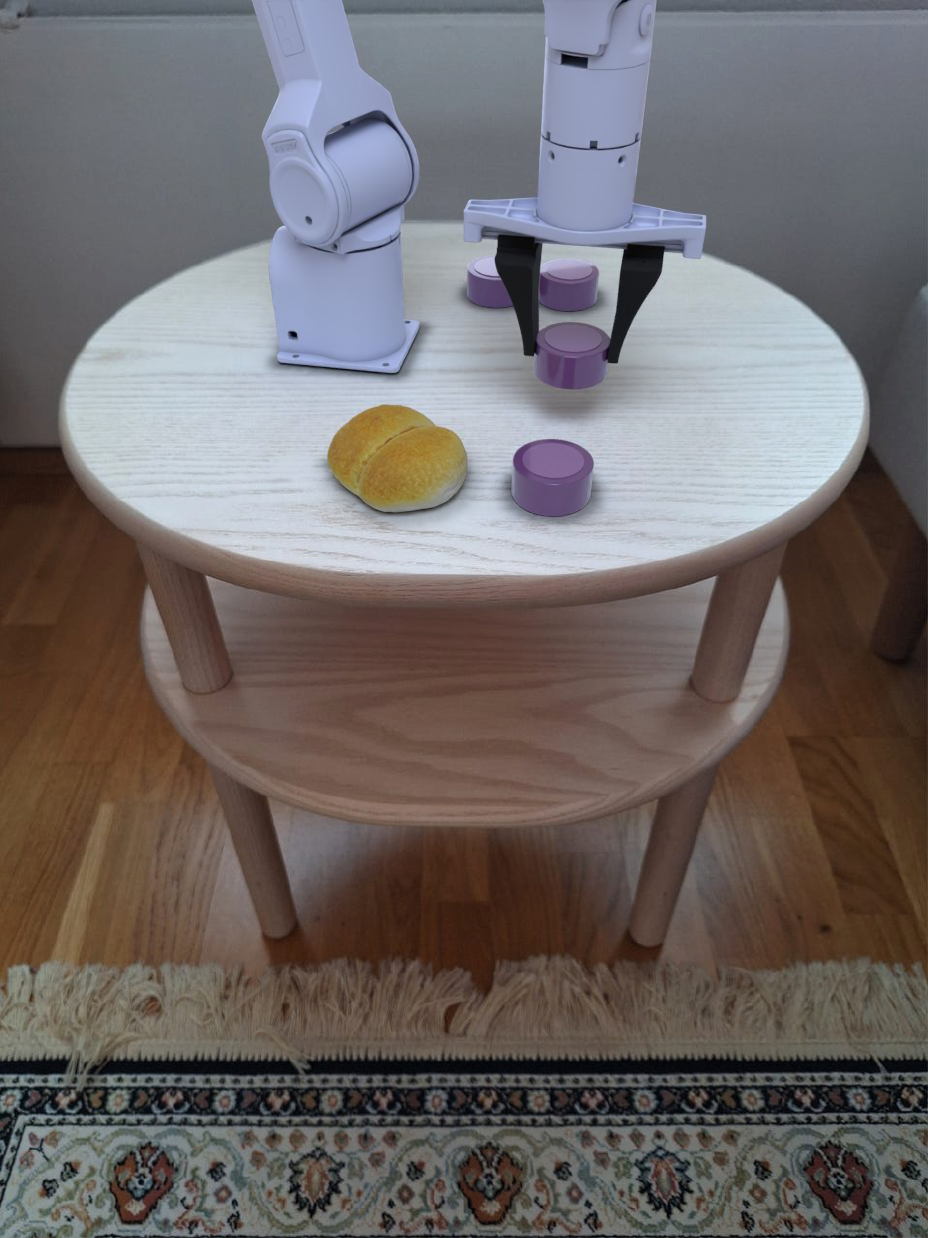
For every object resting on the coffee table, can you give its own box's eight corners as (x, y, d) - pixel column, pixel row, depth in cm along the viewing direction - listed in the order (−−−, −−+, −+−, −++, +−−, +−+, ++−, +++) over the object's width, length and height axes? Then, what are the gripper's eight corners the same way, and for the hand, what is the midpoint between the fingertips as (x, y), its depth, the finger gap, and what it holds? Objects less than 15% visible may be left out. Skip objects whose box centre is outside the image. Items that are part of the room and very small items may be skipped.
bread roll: (399, 535, 57) (395, 480, 54) (310, 472, 62) (303, 419, 59) (497, 480, 61) (498, 426, 58) (407, 425, 66) (404, 373, 63)
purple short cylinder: (461, 305, 79) (461, 276, 78) (472, 280, 83) (472, 252, 81) (521, 310, 79) (522, 281, 77) (529, 284, 82) (530, 256, 80)
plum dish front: (505, 511, 59) (506, 478, 57) (517, 466, 62) (518, 433, 60) (586, 520, 58) (590, 487, 56) (593, 474, 61) (597, 441, 60)
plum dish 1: (533, 308, 79) (535, 279, 77) (541, 283, 82) (543, 254, 81) (594, 313, 78) (596, 284, 76) (599, 287, 82) (601, 259, 80)
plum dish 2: (528, 386, 63) (530, 352, 61) (538, 350, 67) (540, 317, 65) (604, 393, 62) (608, 359, 61) (609, 357, 66) (613, 323, 64)
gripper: (719, 119, 56) (683, 334, 65) (478, 106, 58) (476, 316, 67) (720, 159, 51) (681, 385, 60) (456, 143, 53) (457, 364, 62)
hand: (572, 352), depth 64 cm, fingers closed on plum dish 2, 5 cm apart
